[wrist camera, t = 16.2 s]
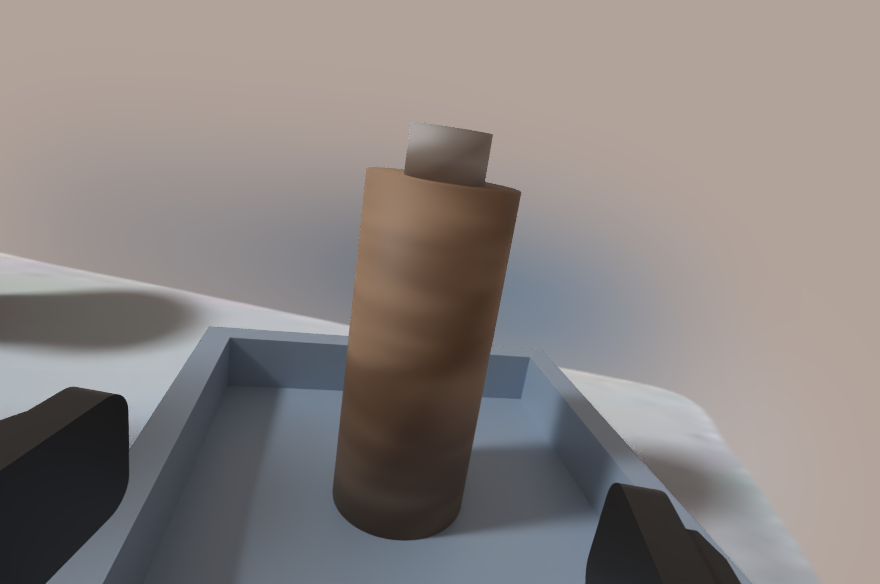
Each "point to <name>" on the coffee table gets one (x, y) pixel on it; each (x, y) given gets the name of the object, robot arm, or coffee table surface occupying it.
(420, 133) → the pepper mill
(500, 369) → the bin
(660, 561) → the robot arm
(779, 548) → the coffee table surface
